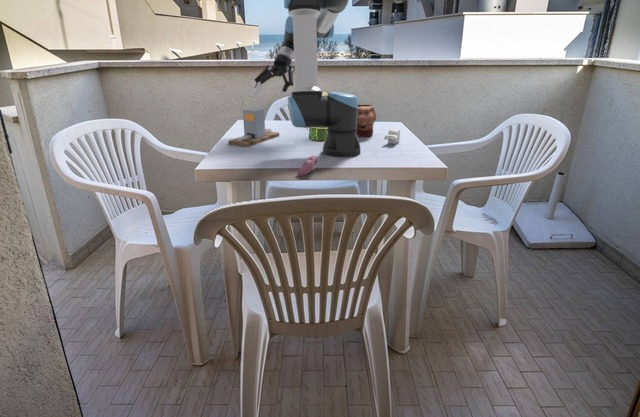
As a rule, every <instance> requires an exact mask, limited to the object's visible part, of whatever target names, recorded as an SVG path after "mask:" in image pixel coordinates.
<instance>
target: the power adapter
mask: <svg viewBox="0 0 640 417" xmlns="http://www.w3.org/2000/svg"><path fill="white" fill-rule="evenodd" d="M400 136H401V129H399V128H391V129H389V130H388V134H386V135H384V140H387V143H388V144H393V145H396V144H398V143H400V139H401V138H400Z"/></svg>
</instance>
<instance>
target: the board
mask: <svg viewBox="0 0 640 417" xmlns="http://www.w3.org/2000/svg"><path fill="white" fill-rule="evenodd" d="M279 136H280V132H276V131H271V133H268V134H265V136H264V137H261V138H258V139H256V138H252V139H249V140H246V141H243V142H239V141H237V138H238V137H236V138H233V139H229V140H228V145H233V146H239V147H245V148H248V147H251V146H254V145H257V144H259V143H262V142H266V141H268V140H271V139H274V138H278V137H279Z"/></svg>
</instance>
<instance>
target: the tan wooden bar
mask: <svg viewBox="0 0 640 417" xmlns="http://www.w3.org/2000/svg"><path fill="white" fill-rule="evenodd" d="M271 132H272V129H271V128H265V134H268V133H271ZM236 138H237V141H239V142H243V141H246V140H249V139H252V138H255V134H252V133H251V134H248V135H241V136H238V137H236Z"/></svg>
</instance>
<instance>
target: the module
mask: <svg viewBox="0 0 640 417" xmlns="http://www.w3.org/2000/svg"><path fill="white" fill-rule="evenodd" d="M242 117H243V118H242V119H243V134H244V135H248V134H251V133H252V134H255V138H256V139H258V138H261V137H264V136H265V129H266V123H265V122H266V121H265V109H264V108H257V107H249V108H245V109H242ZM244 135H243V136H244Z"/></svg>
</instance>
